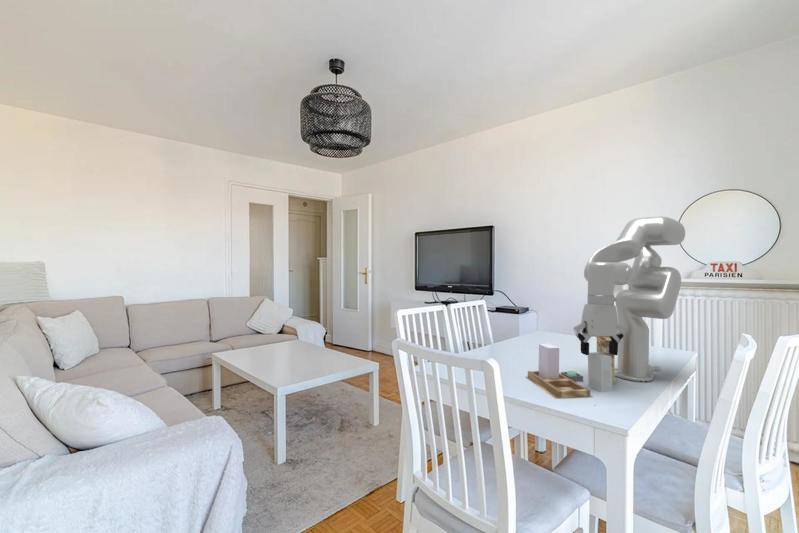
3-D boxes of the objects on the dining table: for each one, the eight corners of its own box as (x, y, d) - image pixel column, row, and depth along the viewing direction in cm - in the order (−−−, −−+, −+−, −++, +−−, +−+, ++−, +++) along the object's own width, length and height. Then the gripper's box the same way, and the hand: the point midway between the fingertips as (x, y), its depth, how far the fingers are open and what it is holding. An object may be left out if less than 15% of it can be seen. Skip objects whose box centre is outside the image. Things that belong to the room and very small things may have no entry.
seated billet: (549, 377, 127) (549, 343, 127) (558, 383, 121) (559, 347, 121) (538, 378, 127) (538, 343, 126) (547, 384, 121) (547, 348, 121)
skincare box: (613, 394, 115) (613, 356, 115) (601, 395, 114) (601, 357, 114) (598, 387, 121) (599, 351, 121) (586, 388, 120) (587, 352, 120)
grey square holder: (574, 379, 129) (574, 371, 129) (582, 384, 124) (583, 376, 124) (560, 380, 128) (560, 371, 128) (569, 385, 123) (569, 376, 123)
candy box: (614, 385, 124) (615, 340, 123) (600, 383, 125) (601, 339, 125) (608, 377, 132) (609, 335, 132) (595, 376, 133) (596, 334, 133)
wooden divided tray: (557, 379, 130) (557, 370, 130) (593, 400, 110) (593, 390, 110) (524, 380, 128) (525, 371, 128) (555, 402, 108) (555, 391, 108)
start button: (573, 377, 128) (573, 370, 128) (578, 380, 125) (578, 373, 125) (565, 378, 127) (565, 371, 127) (570, 380, 124) (570, 373, 124)
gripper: (617, 300, 121) (615, 351, 122) (568, 299, 120) (566, 351, 120) (634, 302, 114) (632, 357, 114) (582, 301, 112) (580, 357, 112)
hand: (599, 354), depth 117 cm, fingers open, 9 cm apart
